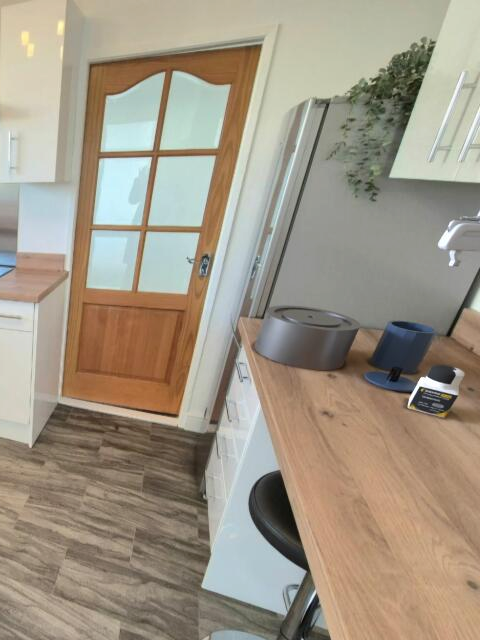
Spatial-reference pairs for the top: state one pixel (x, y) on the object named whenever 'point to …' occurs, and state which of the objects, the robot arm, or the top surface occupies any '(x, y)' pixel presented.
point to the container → (306, 337)
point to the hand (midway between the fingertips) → (472, 267)
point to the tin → (403, 346)
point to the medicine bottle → (437, 390)
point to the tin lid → (391, 380)
